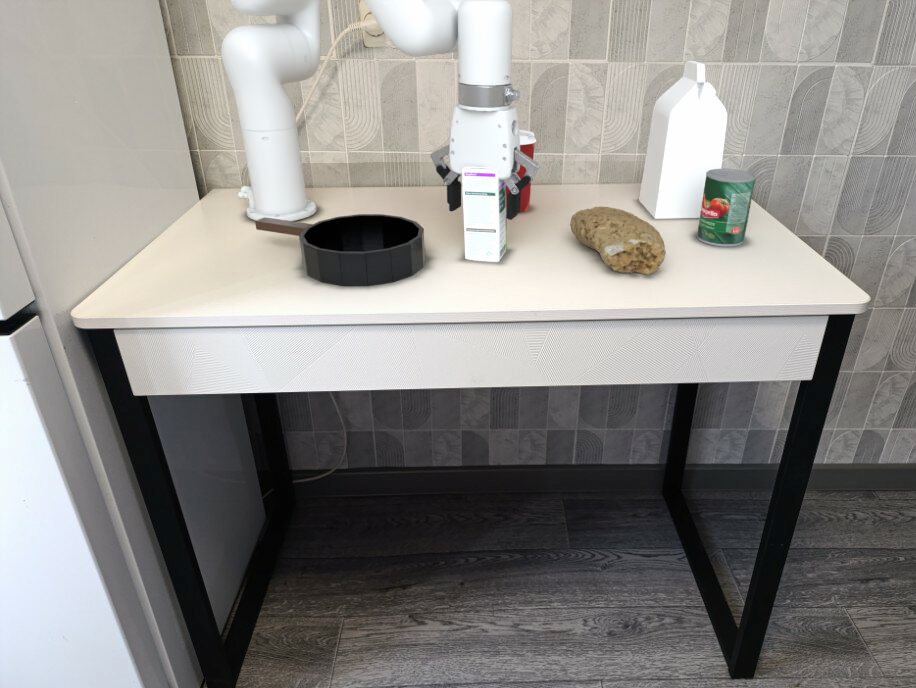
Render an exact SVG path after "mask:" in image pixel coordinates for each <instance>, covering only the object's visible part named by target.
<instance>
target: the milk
mask: <svg viewBox="0 0 916 688" xmlns="http://www.w3.org/2000/svg"><path fill="white" fill-rule="evenodd" d="M717 94H718V93H717V90H716V89H715V87H714V86H713V85H712V83H710V82H709V81H706V64H704V63H702V62H699V61H697V60H686V62H685V67H684V71H683V75H682V76H681V77H680V79H678V80H677V81H676V82H675V83H674V84H672V86H670V87H669V88H668V89H667V90H666V91H665V92H664V93H662V94H661V95H660V96H659V97H658V99H657V100H656V101H655V104H653V108H652V115H651V120H650V121H651V122H650V126H649V134H648V140H647V146H646V152H645V153H646V154H645V160H644V167H643V171H642V177H641V185H640V191H639V198H638V202H639V203H640V204H641V205H642V206H643V207H644V209H646V210H647V212H648V213H649V214H650V215H651V216H652V217H653V218H654V219H655V220H656V219H657V220H658V219H659V220H660V219H663V220H664V219H665V220H666V219H700V213H701V206H702V200H703V193H704V187H705V180H706V172H707V171H709V170H713V169H722V166H723V157H724V149H725V140H726V132H727V124H728V112H727V109H726V107H725V105H724V104H723V102H721V100H720V99H719V98H718V96H717Z"/></svg>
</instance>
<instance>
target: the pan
mask: <svg viewBox="0 0 916 688" xmlns="http://www.w3.org/2000/svg"><path fill="white" fill-rule="evenodd" d="M254 223H255V224H254V225H255V229H256V230H257V231H264V232H271V233H277V234H284V235H290V236H296V237H298V240H299V245H300V253H301V261H302V267H303V269H304V272H305V273H306V276H308V277H309V278H311V279H314V280H316V281H318V282H320V283H323V284H329V285H335V286H341V287H371V286H377V285H384V284H391V283H396V282H397V281H398V282H399V281H400V280H404V279H407V278H409V277H412V276H414V275H415V274H417V273H418V272H420V271H421V270H422V269H423V268H424V266H425V262H426V245H425V230H424V229H425V228H424V227H423V226H422V225H421V224H420V223H419V222H417V221H415V220H412V219H410V218H407V217H403V216H398V215H391V214H383V213H378V214H377V213H359V214H351V215H341V216H335V217H331V218H327V219H323V220H319V221H317V222H315V223H307V222H301V221H287V220H280V219H273V218H266V217H264V218H262V219H259V220H257V221H256V220H254Z"/></svg>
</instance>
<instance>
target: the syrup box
mask: <svg viewBox="0 0 916 688" xmlns="http://www.w3.org/2000/svg"><path fill="white" fill-rule="evenodd" d="M461 181H462V182H461V192H462V216H463V217H462V218H463V240H464V241H463V242H464V258H465V260H469V261H475V262H488V263H500V262H501V259H502V258H503V256H504V255H505V253H506V251H507V249H508V243H507V242H508V240H507V239H508V234H507V233H508V231H507V229H508V228H507V227H508V225H507V221H508V219H507V209H506V184H505V182H504V181H503V180H499V175H498V170H497V169H493V168H487V167H464V168H463V169H462V175H461Z"/></svg>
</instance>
